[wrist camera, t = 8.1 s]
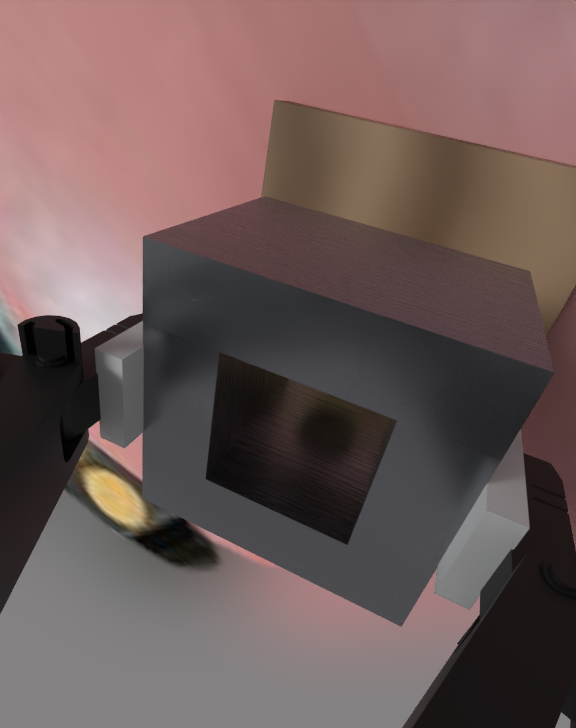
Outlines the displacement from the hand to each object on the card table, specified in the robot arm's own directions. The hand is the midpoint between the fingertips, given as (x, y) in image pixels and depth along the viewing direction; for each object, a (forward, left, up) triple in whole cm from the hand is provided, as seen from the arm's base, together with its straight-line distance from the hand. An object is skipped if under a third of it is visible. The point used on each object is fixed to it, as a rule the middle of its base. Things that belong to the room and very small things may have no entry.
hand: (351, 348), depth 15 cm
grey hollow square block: (0, 0, 0) cm, 0 cm away
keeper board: (0, 0, -9) cm, 9 cm away
